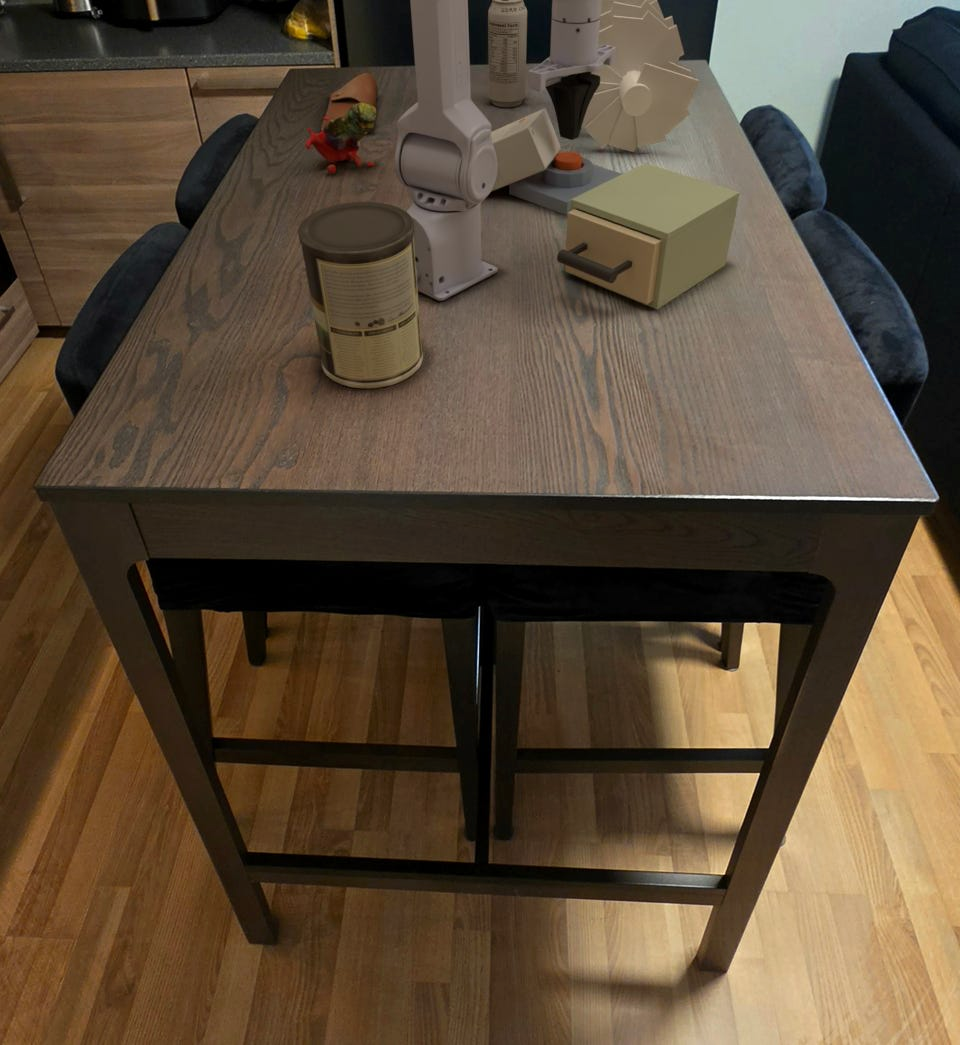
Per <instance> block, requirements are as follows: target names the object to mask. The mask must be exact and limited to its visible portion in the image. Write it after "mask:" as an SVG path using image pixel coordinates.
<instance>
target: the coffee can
mask: <svg viewBox="0 0 960 1045" xmlns="http://www.w3.org/2000/svg"><path fill="white" fill-rule="evenodd" d="M406 211H407V210H404V209H403V208H400V207H398V206H396V205H392V204H388V203H383V202H377V201H376V202H375V201H352V202H344V203H339V204H334V205H331V206H330V205H329V206H328V207H324V208H322V209H319V210H316V211H315V212H312V213H311V214H309V215H308V216H306V217H305V219H303V220H302V221H301V222H300V224H299V226H298V229H297V234H298V240H299V244H300V245H301V250H302V256H303V262H304V266H305V272H306V278H307V285H308V289H309V294H310V300H311V301H310V302H311V307H312V312H313V318H314V323H315V330H316V336H317V341H318V347H319V353H320V358H321V360H320V361H321V368H322V371H323V372H324V374H325V376H327V377H328V378H329V379H330V380H331V381H333V382H335V383H337V384H339V385H342V386H345V387H348V388H353V389H355V388H356V389H379V388H385V387H389V386H392V385H396V384H399V383H401V382H403V381H405V380H407V379H408V378H410V377H412V376H413V375H414V374H415V373H416V372H417V371H418V370H419V369H420V367H421V366H422V364H423V361H424V352H423V345H422V333H421V321H420V320H421V319H420V318H421V317H420V307H419V291H418V290H417V278H416V264H415V251H414V238H413V234H414V221H413V219H412V217H411V216H410V215H409V214H408V213H407V212H406Z"/></svg>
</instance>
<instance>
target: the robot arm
mask: <svg viewBox="0 0 960 1045" xmlns="http://www.w3.org/2000/svg"><path fill="white" fill-rule="evenodd" d="M468 1H469V0H409V2H410V13H411V15H410V16H411V28H412V42H413V55H414V69H415V83H416V96H417V97H416V98H417V102H416V103H415V104H412V106H410V108H408V109H407V110H406V111H405V112H404V113H403V114H402V115H401V116H400V117H399V119H398V120H397V122H396V128H397V140H396V147H395V150H394V162H393V163H394V169H395V174H396V177H397V179H398V181H399V182H400V183H401V184H402V185H403V186H404V187H405V188H407V197H408V198H410V199H412V203H411V205H410V206H409V208H408V209H407V210H405V211H406V212H407V213H408V214H409V215H410V216H411V217H412V219H413V221H414V234H413V238H414V251H415V264H416V278H417V290H418V293H419V292H420V293H421V294H424V295H426V296H428V297H430V298H432V299H434V300H437V301H439V302H442V301H445V300H447V299H449V298H451V297H452V296H454V295H457V294H458V293H460V292H462V291H464V290H466V289H468V288H470V287H472V286H473V285H475V284H477V283H479V282H481V281H483V280H486V279H487V278H489V277H492V276H493V275H495V274H497V273H498V271H499V269H498V266H495V265H493V264H491V263H488V262H486V261H485V260H482V209H481V208H482V205H481V204H482V202H483V201H484V200H485V199H486V198H488V196H490V193H491V192H492V191H491V190H492V188H493V186H494V183H495V180H496V176H497V170H498V162H497V156H496V152H495V149H494V146H493V143H492V136H491V132H492V124H491V122H490V121H489V120H488V118H487V117H486V116H485V114H483V112H482V111H481V110H480V109H479V108H478V106H477V105H476V104H475V103H474V102H473V100H472V92H471V91H472V90H471V60H470V33H469V30H470V29H469V28H470V27H469V2H468ZM600 14H601V0H552V1H551V22H550V23H551V24H550V52H549V56H548V57H547V58H546V59H545V60H543V61H541V63H539V64H538V65H537V66H535V67H534V68H532V69H529V70H528V71H527V89H530V90H534V91H537V92H542V91H544V90H546V92H547V93H548V95H549V97H550V101H551V102H552V106H553V108H554V113H555V117H556V121H557V126H558V127H557V128H558V132H559V137H560V138H564V139H567V140H569V141H574V140H576V139H578V138H579V136H580V133H581V130H582V128H581V127H582V123H583V120H584V117H585V114H586V111H587V108H588V106H589V103H590V101H591V99H592V97H593V95H594V93H595V91H596V90H597V88H598V87H599V85H600V76H598V75H594V74H591V72H597V71H600V70H602V69H603V65H613V64H615V54H616V47H613V46H608V45H601V46H598V40H599V26H600Z"/></svg>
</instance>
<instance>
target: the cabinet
mask: <svg viewBox="0 0 960 1045" xmlns="http://www.w3.org/2000/svg"><path fill="white" fill-rule="evenodd" d="M621 174H622V175H620V176H618V177H616V178H614V179H612V180H609V181H607V182H605V183H603V184H601V185H599V186H597V187H595V188H593V189H591V190H589V191H587V192H585V193H583V194H581V195H579V196H577V197H575V198H573V199H571V209H570V211H572V210H574V209H576V210H578V211H581V212H584V213H587V212H589V213H591V214H594V215H597V216H600V217H602V218H605V219H608V220H611V221H613V222H616V223H619V224H622V225H625V226H627V227H630V228H633V229H636V230H638V231H641V232H644V233H647V234H649V235H652V236H655V237H658V238H661V239H660V240H661V247H660V254H659V262H658V269H657V276H656V283H655V291H654V298H653V301H651V302H650V303H648V304H645V303H642V302H640V301H637V300H635V299H632V298H630V297H628V296H625V295H623V294H620V293H618V292H616V291H613V290H611V289H608V288H606V287H603V286H601V285H599V284H596V283H594V282H591V281H589V280H586V279H584V278H582V277H579V276H577V275H574V274H572V273H569V272H567V271H566V273H567V274H570V275H571V276H575V277H576V278H580V279H582V280H584V281H587V282H589V283H591V284H594V285H597V286H598V287H600V288H604V289H605V290H609V291H611V292H613V293H615V294H618V295H621V296H623V297H624V298H627V299H630V300H632V301H635V302H638V303H639V304H642V305H645V306H647V307H649V308H651V309H654V310H659V309H660V308H662V307H664V306H665V305H667V304H668V303H670V302H671V301H673V300H674V299H676V298H677V297H679V296H680V295H682V294H683V293H685V292H688V290H690V289H691V288H693V287H694V286H696V285H698V284H699V283H701V282H702V281H704V280H705V279H707V278H708V277H710V276H711V275H713V274H714V273H716V272H718V271H719V270H720V269H722V268H724V267H725V266H726V265H727V259H728V254H729V249H730V243H731V240H732V233H733V229H734V224H735V218H736V213H737V208H738V203H739V197H740V192H739V191H737V190H733V189H731V188H727V187H725V186H720V185H717V184H714V183H712V182H708V181H705V180H701V179H698V178H696V177H695V178H694V177H692V176H688V175H685V174H681V173H678V172H675V171H672V170H670V169H666V168H663V167H660V166H657V165H653V164H650V163H648V162H647V163H646V162H644V163H642V164H640V165H638V166H636V167H634V168H632V169H629V170H628V171H626V172H623V173H621Z"/></svg>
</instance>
